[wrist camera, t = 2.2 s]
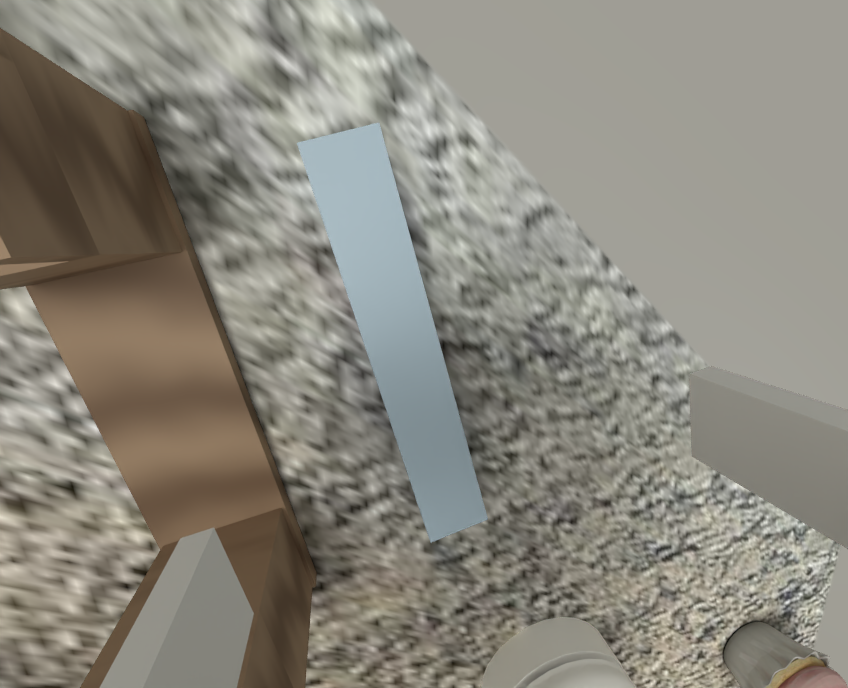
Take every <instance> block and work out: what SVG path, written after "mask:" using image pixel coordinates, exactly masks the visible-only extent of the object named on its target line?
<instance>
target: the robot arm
mask: <svg viewBox="0 0 848 688" xmlns="http://www.w3.org/2000/svg"><path fill="white" fill-rule="evenodd" d="M689 386H690V417H691V448H692V457H694V458H696V459H697V460H699V461H701V462H702V463H704V464H706V465H707V466H709V467H711V468H712V469H714V470H716V471H717V472H719V473H721V474H722V475H724V476H726V477H727V478H729V479H731V480H733V481H734V482H736V483H738V484H739V485H741V486H743V487H744V488H746V489H748V490H749V491H751V492H753V493H754V494H756V495H758V496H759V497H761V498H763V499H764V500H766V501H768V502H770V503H771V504H773V505H775V506H776V507H778V508H780V509H781V510H783V511H785V512H786V513H788V514H790V515H791V516H793V517H795V518H796V519H798V520H800V521H801V522H803V523H805V524H807V525H808V526H810V527H812V528H813V529H815V530H817V531H818V532H820V533H822V534H823V535H825V536H827V537H828V538H830V539H832V540H833V541H835V542H837V543H838V544H840V545H842V546H844V547H845V548H847V549H848V410H847V409H844V408H841V407H838V406H835V405H832V404H828V403H825V402H822V401H819V400H816V399H813V398H810V397H807V396H804V395H800V394H797V393H794V392H791V391H788V390H785V389H782V388H779V387H776V386H772V385H769V384H766V383H763V382H760V381H757V380H754V379H751V378H748V377H744V376H741V375H738V374H735V373H732V372H729V371H726V370H722V369H719V368H716V367H713V366H711V367H708V368H705V369H701V370H698V371H695V372H692V373H689ZM253 615H254V613H253V611H252V608H251V606H250V604H249V602H248V600H247V598H246V595H245V593H244V591H243V589H242V587H241V585H240V582H239V580H238V578H237V576H236V574H235V572H234V569H233V567H232V565H231V563H230V561H229V559H228V557H227V554H226V552H225V550H224V548H223V546H222V544H221V541H220V539H219V537H218V535H217V533H216V531H215V528H211V529H208V530H204V531H201V532H198V533H195V534H192V535H189V536H186V537H183V538H180V540H179V542H178V544H177V546H176V547H175V549H174V551H173V553H172V555H171V557H170V558H169V560H168V562H167V564H166V566H165V568H164V570H163V571H162V573H161V575H160V577H159V579H158V581H157V582H156V584H155V586H154V588H153V590H152V592H151V594H150V595H149V597H148V599H147V601H146V603H145V605H144V606H143V608H142V610H141V612H140V614H139V616H138V618H137V619H136V621H135V623H134V625H133V627H132V629H131V631H130V632H129V634H128V636H127V638H126V640H125V642H124V643H123V645H122V647H121V649H120V651H119V653H118V655H117V656H116V658H115V660H114V662H113V664H112V666H111V667H110V669H109V671H108V673H107V675H106V677H105V679H104V680H103V682H102V684H101V686H100V688H237V685H238V680H239V676H240V672H241V667H242V663H243V659H244V654H245V650H246V646H247V641H248V637H249V633H250V628H251V624H252V620H253Z"/></svg>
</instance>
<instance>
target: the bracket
mask: <svg viewBox="0 0 848 688" xmlns="http://www.w3.org/2000/svg"><path fill="white" fill-rule="evenodd" d="M22 286H26V288H27V290H28V292H29V294H30V296H31V298H32V300H33V302H34V304H35V306H36V308H37V310H38V312H39V314H40V316H41V318H42V320H43V322H44V324H45V326H46V327H47V329H48V331H49V333H50V335H51V337H52V339H53V341H54V343H55V345H56V347H57V349H58V351H59V353H60V355H61V357H62V359H63V361H64V363H65V365H66V367H67V368H68V370H69V372H70V374H71V376H72V378H73V380H74V382H75V384H76V386H77V388H78V390H79V392H80V394H81V396H82V398H83V400H84V402H85V404H86V406H87V408H88V410H89V411H90V413H91V415H92V417H93V419H94V421H95V423H96V425H97V427H98V429H99V431H100V433H101V435H102V437H103V439H104V441H105V443H106V445H107V447H108V449H109V451H110V453H111V454H112V456H113V458H114V460H115V462H116V464H117V466H118V468H119V470H120V472H121V474H122V476H123V478H124V480H125V482H126V484H127V486H128V488H129V490H130V492H131V494H132V495H133V497H134V499H135V501H136V503H137V505H138V507H139V509H140V511H141V513H142V515H143V517H144V519H145V521H146V523H147V525H148V527H149V529H150V531H151V533H152V535H153V537H154V538H155V540H156V542H157V544H158V546H159V548H160V552H159V553H158V555H157V557H156V559H155V560H154V562H153V564H152V565H151V567H150V569H149V571H148V572H147V574H146V576H145V577H144V579H143V581H142V583H141V584H140V586H139V588H138V589H137V591H136V593H135V595H134V596H133V598H132V600H131V601H130V603H129V605H128V607H127V608H126V610H125V612H124V613H123V615H122V617H121V619H120V620H119V622H118V624H117V625H116V627H115V629H114V631H113V632H112V634H111V636H110V637H109V639H108V641H107V643H106V644H105V646H104V648H103V649H102V651H101V653H100V654H99V656H98V658H97V660H96V661H95V663H94V665H93V666H92V668H91V670H90V672H89V673H88V675H87V677H86V678H85V680H84V682H83V684H82V685H81V687H80V688H100V686H101V684H102V682H103V680H104V679H105V677H106V675H107V673H108V671H109V669H110V667H111V666H112V664H113V662H114V660H115V658H116V656H117V655H118V653H119V651H120V649H121V647H122V645H123V643H124V642H125V640H126V638H127V636H128V634H129V632H130V631H131V629H132V627H133V625H134V623H135V621H136V619H137V618H138V616H139V614H140V612H141V610H142V608H143V606H144V605H145V603H146V601H147V599H148V597H149V595H150V594H151V592H152V590H153V588H154V586H155V584H156V582H157V581H158V579H159V577H160V575H161V573H162V571H163V570H164V568H165V566H166V564H167V562H168V560H169V558H170V557H171V555H172V553H173V551H174V549H175V547H176V546H177V544H178V542H179V540H180V538H183V537H186V536H189V535H192V534H195V533H198V532H201V531H204V530H208V529H211V528H215V531H216V533H217V535H218V537H219V539H220V541H221V544H222V546H223V548H224V550H225V552H226V554H227V557H228V559H229V561H230V563H231V565H232V567H233V569H234V572H235V574H236V576H237V578H238V580H239V582H240V585H241V587H242V589H243V591H244V593H245V595H246V598H247V600H248V602H249V604H250V606H251V608H252V611H253V613H254V615H253V620H252V624H251V628H250V633H249V637H248V641H247V646H246V650H245V654H244V659H243V663H242V667H241V672H240V676H239V680H238V685H237V688H305V681H306V668H307V654H308V640H309V627H310V613H311V599H312V588H313V587H316V576H317V573H316V570H315V568H314V565H313V562H312V560H311V557H310V554H309V552H308V549H307V546H306V544H305V541H304V538H303V536H302V533H301V531H300V528H299V525H298V523H297V520H296V517H295V515H294V512H293V509H292V507H291V504H290V502H289V499H288V496H287V494H286V491H285V488H284V486H283V483H282V480H281V478H280V475H279V472H278V470H277V467H276V465H275V462H274V459H273V457H272V454H271V451H270V449H269V446H268V443H267V441H266V438H265V435H264V433H263V430H262V428H261V425H260V422H259V420H258V417H257V414H256V412H255V409H254V406H253V404H252V401H251V399H250V396H249V393H248V391H247V388H246V385H245V383H244V380H243V377H242V375H241V372H240V369H239V367H238V364H237V362H236V359H235V356H234V354H233V351H232V348H231V346H230V343H229V340H228V338H227V335H226V333H225V330H224V327H223V325H222V322H221V319H220V317H219V314H218V311H217V309H216V306H215V303H214V301H213V298H212V296H211V293H210V290H209V288H208V285H207V282H206V280H205V277H204V274H203V272H202V269H201V267H200V264H199V261H198V259H197V256H196V253H195V251H194V248H193V245H192V243H191V240H190V237H189V235H188V232H187V230H186V227H185V224H184V222H183V219H182V216H181V214H180V211H179V208H178V206H177V203H176V201H175V198H174V195H173V193H172V190H171V187H170V185H169V182H168V179H167V177H166V174H165V171H164V169H163V166H162V164H161V161H160V158H159V156H158V153H157V150H156V148H155V145H154V142H153V140H152V137H151V135H150V132H149V129H148V127H147V124H146V121H145V119H144V117H143V116H141V115H140V114H138V113H137V112H135V111H134V110H129V111H127V110H125V109H124V108H122V107H121V106H119V105H118V104H116V103H115V102H113V101H112V100H110V99H109V98H107V97H106V96H104V95H102V94H101V93H99V92H98V91H96V90H95V89H93V88H92V87H90V86H89V85H87V84H86V83H84V82H82V81H81V80H79V79H78V78H76V77H75V76H73V75H72V74H70V73H69V72H67V71H66V70H64V69H62V68H61V67H59V66H58V65H56V64H55V63H53V62H52V61H50V60H49V59H47V58H46V57H44V56H43V55H41V54H39V53H38V52H36V51H35V50H33V49H32V48H30V47H29V46H27V45H26V44H24V43H23V42H21V41H19V40H18V39H16V38H15V37H13V36H12V35H10V34H9V33H7V32H6V31H4V30H3V29H1V28H0V289H6V288H14V287H22Z"/></svg>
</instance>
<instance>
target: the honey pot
mask: <svg viewBox="0 0 848 688" xmlns="http://www.w3.org/2000/svg"><path fill="white" fill-rule="evenodd" d="M481 688H636V686H635V684H634V683H633V682H632V681H631V679H630V678H629V676H628V674H627V672H626V671H625V670H624V669H623V667H622V665H621V663H620V662H619V660H618V659H617V657H616V656H615V654H614V653H613V651H612V650H611V649H610V647H609V646H608V644H607V643H606V641H605V640H604V638H603V637H602V635H601V634H600V632H599V631H598V630H597V629H596V628H595V627H594V626H592V625H591V624H590V623H589V622H586V621H583V620H581V619H578V618H571V617H557V618H552V619H547V620H543V621H540V622H538V623H535V624H533V625H531V626H528V627H526V628H524V629H523V630H521V631H520V632H518V633H517V634H515V635H514V636H512V637H511V638H510V639H509V640H508V641H507V642H506V643H505V644H504V645H503V646H501V647H500V648H499V649H498V650H497V652H496V653H495V655H494V656H493V658H492V659H491V661H490V662H489V664H488V665H487V668H486V670H485V673H484V675H483V678H482V684H481Z"/></svg>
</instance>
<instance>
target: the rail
mask: <svg viewBox="0 0 848 688" xmlns="http://www.w3.org/2000/svg"><path fill="white" fill-rule="evenodd" d="M297 145H298V148H299V151H300V154H301V157H302V160H303V163H304V166H305V169H306V172H307V175H308V178H309V181H310V184H311V187H312V190H313V193H314V196H315V199H316V201H317V204H318V207H319V210H320V213H321V216H322V219H323V222H324V225H325V228H326V231H327V234H328V237H329V240H330V243H331V246H332V249H333V252H334V255H335V258H336V261H337V264H338V267H339V270H340V273H341V276H342V279H343V282H344V285H345V288H346V291H347V294H348V297H349V300H350V303H351V306H352V309H353V312H354V315H355V318H356V321H357V324H358V327H359V330H360V333H361V336H362V339H363V342H364V345H365V348H366V351H367V354H368V357H369V360H370V363H371V366H372V369H373V372H374V375H375V378H376V381H377V384H378V387H379V390H380V393H381V396H382V399H383V402H384V405H385V408H386V411H387V414H388V417H389V420H390V423H391V426H392V429H393V432H394V435H395V437H396V440H397V443H398V446H399V449H400V452H401V455H402V458H403V461H404V464H405V467H406V470H407V473H408V476H409V479H410V482H411V485H412V488H413V491H414V494H415V497H416V500H417V503H418V506H419V509H420V512H421V515H422V518H423V521H424V524H425V527H426V530H427V533H428V536H429V539H430V542H433V541H436V540H438V539H441V538H443V537H446V536H448V535H451V534H453V533H456V532H458V531H461V530H463V529H466V528H468V527H471V526H473V525H476V524H478V523H481V522H483V521H485V520H488V518H487V514H486V510H485V507H484V503H483V499H482V496H481V492H480V488H479V485H478V481H477V477H476V474H475V470H474V467H473V463H472V459H471V456H470V452H469V448H468V445H467V441H466V437H465V434H464V430H463V426H462V423H461V419H460V416H459V412H458V408H457V405H456V401H455V397H454V394H453V390H452V386H451V383H450V379H449V376H448V372H447V368H446V365H445V361H444V357H443V354H442V350H441V346H440V343H439V339H438V335H437V332H436V328H435V325H434V321H433V317H432V314H431V310H430V306H429V303H428V299H427V295H426V292H425V288H424V284H423V281H422V277H421V274H420V270H419V266H418V263H417V259H416V255H415V252H414V248H413V244H412V241H411V237H410V233H409V230H408V226H407V223H406V219H405V215H404V212H403V208H402V204H401V201H400V197H399V193H398V190H397V186H396V182H395V179H394V175H393V172H392V168H391V164H390V161H389V157H388V153H387V150H386V146H385V142H384V139H383V135H382V131H381V128H380V124H379V123H375V124H371V125H367V126H363V127H359V128H355V129H351V130H347V131H343V132H339V133H335V134H331V135H327V136H323V137H319V138H315V139H310V140H306V141H302V142H298V143H297Z"/></svg>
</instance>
